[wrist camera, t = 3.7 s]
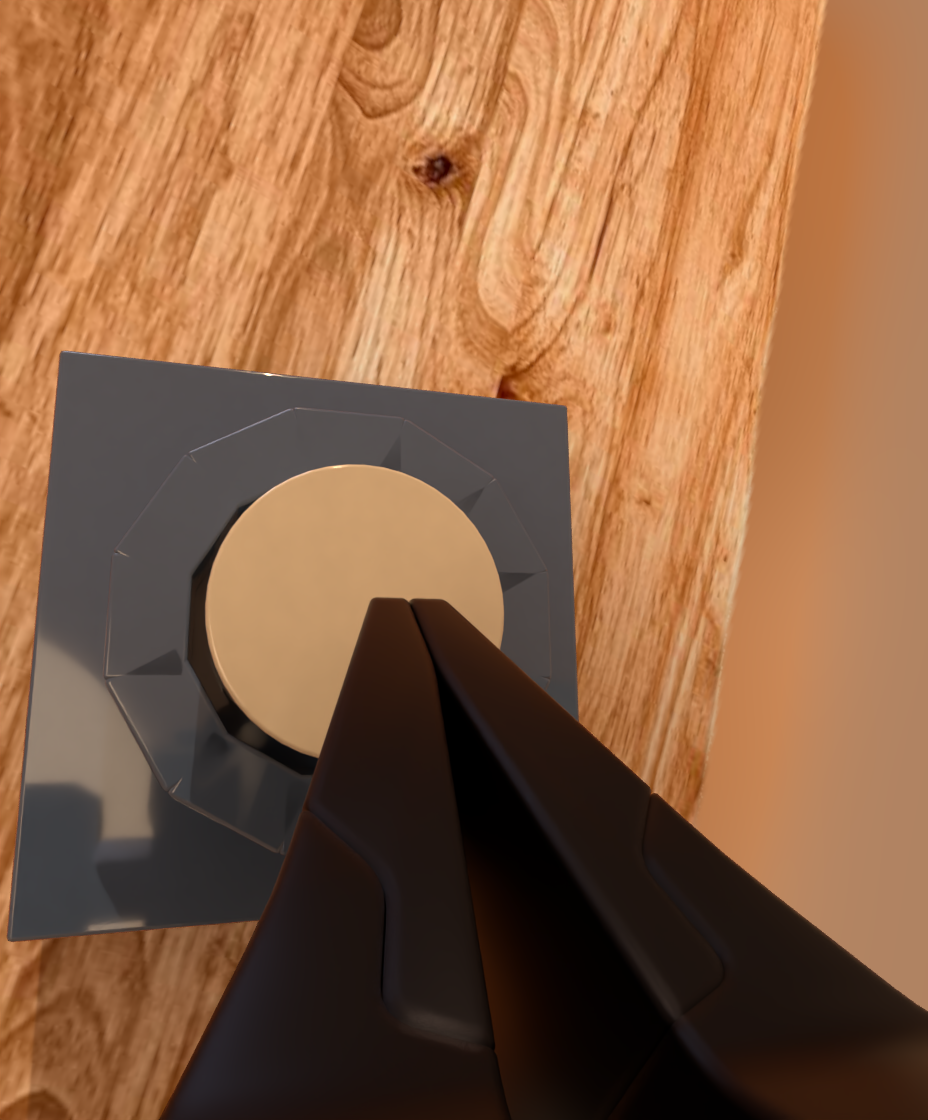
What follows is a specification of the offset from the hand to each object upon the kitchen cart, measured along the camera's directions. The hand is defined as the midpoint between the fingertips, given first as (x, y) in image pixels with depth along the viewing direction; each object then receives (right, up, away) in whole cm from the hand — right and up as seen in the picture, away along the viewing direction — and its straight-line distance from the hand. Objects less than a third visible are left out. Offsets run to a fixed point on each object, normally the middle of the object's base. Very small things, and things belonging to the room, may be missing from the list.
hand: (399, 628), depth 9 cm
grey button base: (-3, -1, +11) cm, 11 cm away
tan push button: (-1, 0, +5) cm, 5 cm away
